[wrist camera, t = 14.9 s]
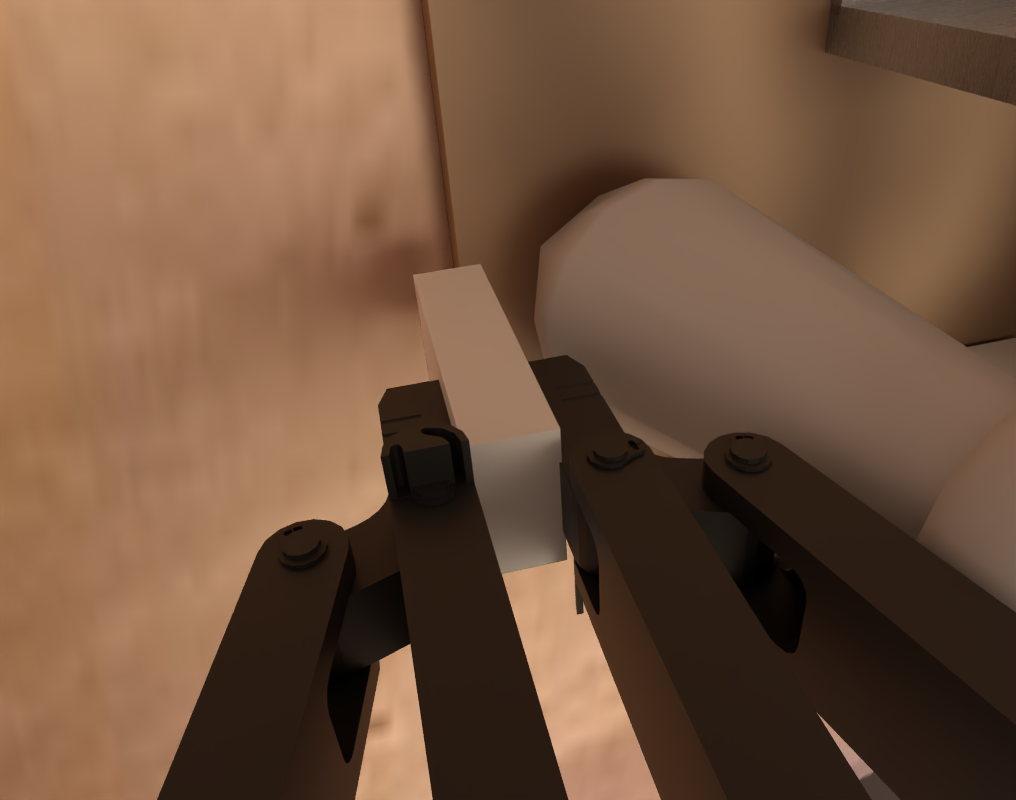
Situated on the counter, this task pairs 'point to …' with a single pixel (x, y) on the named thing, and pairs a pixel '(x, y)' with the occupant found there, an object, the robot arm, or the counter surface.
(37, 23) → the counter surface
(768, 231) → the salt shaker
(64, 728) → the counter surface
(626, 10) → the wooden l-bracket
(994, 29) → the bookend
